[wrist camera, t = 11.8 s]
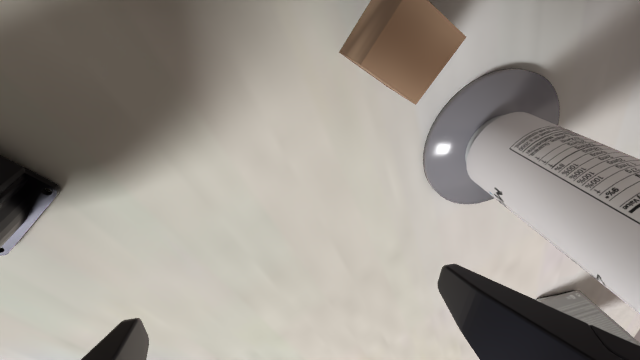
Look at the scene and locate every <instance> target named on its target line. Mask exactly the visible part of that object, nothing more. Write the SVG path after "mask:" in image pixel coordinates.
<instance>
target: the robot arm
mask: <svg viewBox="0 0 640 360" xmlns="http://www.w3.org/2000/svg"><path fill="white" fill-rule="evenodd" d="M45 188H48V189H50V190H51V191H52V192H49V191H47V190H46V189H45ZM59 192H60V187H59V186H58V185H57V184H56V183H54V182H52V181H50V180H48V179H46V178H44V177H42V176H40V175H38V174H37V173H35V172H33V171H31V170H29V169H27V168H25V167H23V166H21V165H19V164H17V163H15V162H13V161H11V160H9V159H7V158H5V157H3V156H1V155H0V255H6V254H8V253H9V252H10V251H11V250H12V249H13V247H14V246H15V245H16V244H17V243H18V241H19V240H20V239H21V238H22V237H23V235H24V234H25V233H26V232H27V231H28V229H29V228H30V227H31V226H32V225H33V224H34V222H35V221H36V220H37V219H38V218H39V216H40V215H41V214H42V213H43V212H44V210H45V209H46V208H47V207H48V206H49V204H50V203H51V202H52V201H53V200H54V199H55V197H56V196H57V195H58V194H59ZM1 247H2V248H1ZM438 289H439V292H440V294H441V296H442V297H443V299H444V301H445V303H446V305H447V307H448V309H449V310H450V312H451V314H452V316H453V318H454V320H455V322H456V323H457V325H458V327H459V329H460V330H461V332H462V334H463V335H464V337H465V338H466V340H467V341H468V343H469V344H470V346H471V347H472V349H473V350H474V351H475V353H476V354H477V356H478V357H479V359H480V360H640V346H639V345H637V344H634V343H632V342H630V341H627V340H625V339H623V338H620V337H618V336H616V335H614V334H611V333H609V332H607V331H604V330H602V329H600V328H598V327H596V326H593V325H589V324H588V323H586V322H584V321H581V320H579V319H577V318H575V317H572V316H570V315H568V314H566V313H564V312H561V311H559V310H557V309H555V308H552V307H550V306H548V305H546V304H543V303H541V302H539V301H537V300H535V299H532V298H530V297H528V296H526V295H523V294H521V293H519V292H517V291H515V290H512V289H510V288H508V287H506V286H503V285H501V284H499V283H497V282H495V281H492V280H490V279H488V278H486V277H483V276H481V275H479V274H477V273H475V272H472V271H470V270H468V269H466V268H463V267H461V266H459V265H457V264H450V265H445V266H443V267H442V270H441V273H440V277H439V280H438ZM148 346H149V338H148V334H147V332H146V330H145V328H144V325H143V323H142V321H141V319H139V318H134V319H128V320H124V321H122V322H121V323H120V324H118V325H117V326H116V327H115V328H114V329H113V330H112V331H111V332H110V333H109V334H108V335H107V336H106V337H105V338H104V339H103V340H101V341H100V342H99V343H98V344H97V345H96V346H95V347H94V348H93V349H92V350H91V351H90V352H89V353H88V354H87V355H86V356H84V357H83V358H82V359H81V360H146V357H147V352H148Z"/></svg>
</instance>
